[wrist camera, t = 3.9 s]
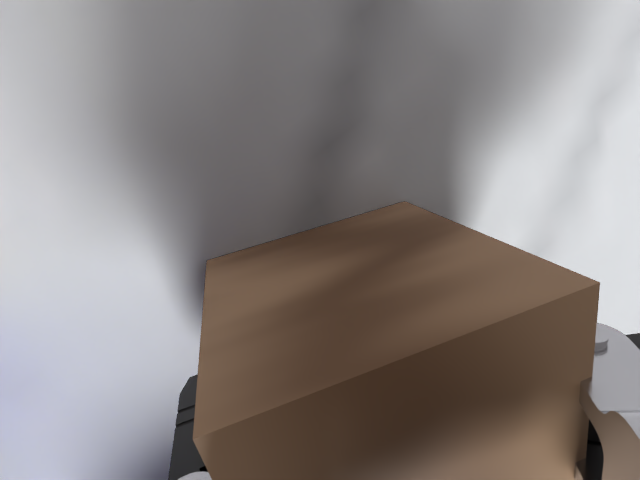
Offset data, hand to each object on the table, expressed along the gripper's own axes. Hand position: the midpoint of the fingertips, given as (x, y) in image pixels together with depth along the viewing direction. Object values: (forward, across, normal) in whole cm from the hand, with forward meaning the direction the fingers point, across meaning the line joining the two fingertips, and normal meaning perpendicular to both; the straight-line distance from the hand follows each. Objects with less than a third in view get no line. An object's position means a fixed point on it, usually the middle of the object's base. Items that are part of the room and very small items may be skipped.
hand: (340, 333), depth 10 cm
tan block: (+1, 0, 0) cm, 1 cm away
